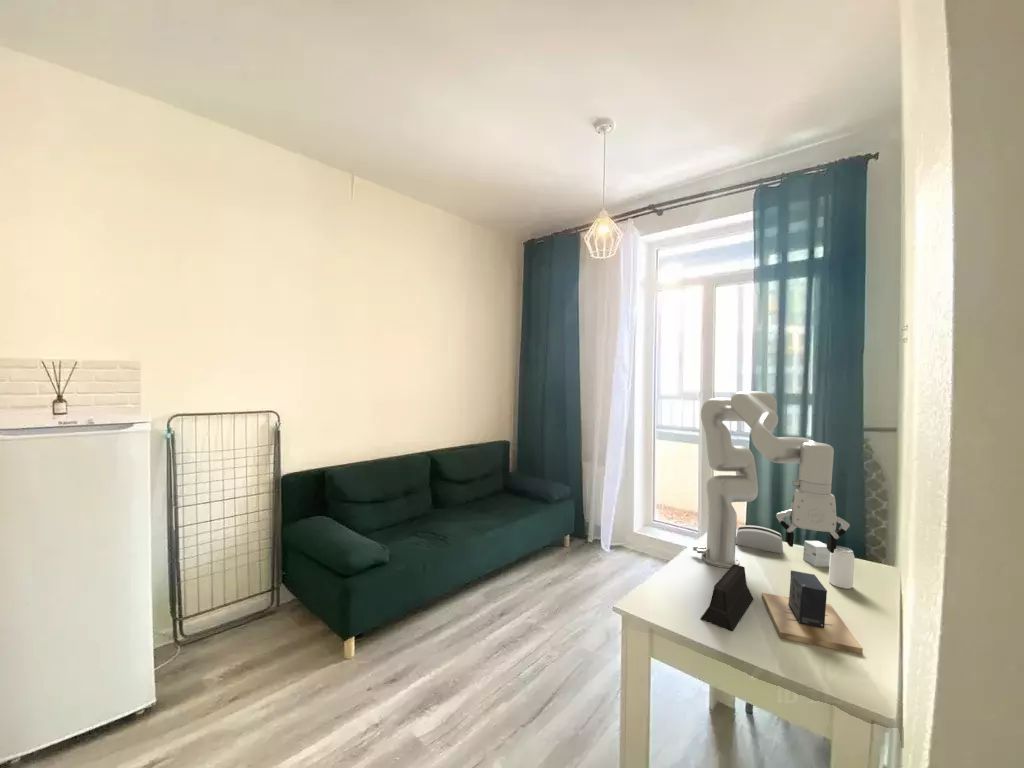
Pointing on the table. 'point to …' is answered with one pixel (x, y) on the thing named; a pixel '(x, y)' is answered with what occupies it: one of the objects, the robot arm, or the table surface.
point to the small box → (807, 599)
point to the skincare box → (816, 553)
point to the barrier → (729, 599)
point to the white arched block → (759, 538)
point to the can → (841, 567)
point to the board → (789, 628)
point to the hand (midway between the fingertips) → (809, 548)
